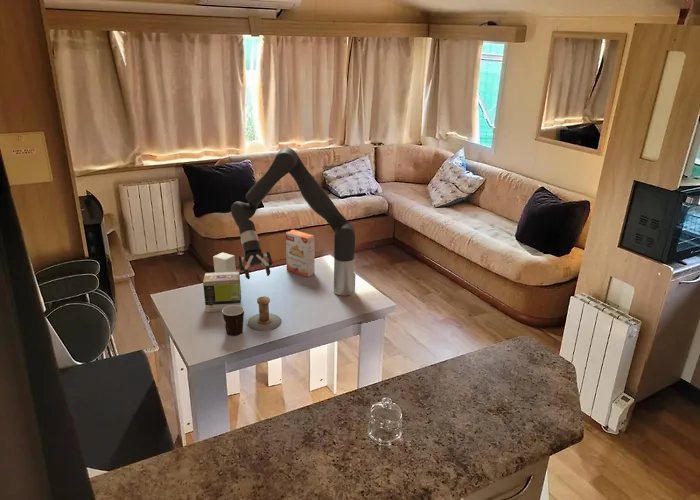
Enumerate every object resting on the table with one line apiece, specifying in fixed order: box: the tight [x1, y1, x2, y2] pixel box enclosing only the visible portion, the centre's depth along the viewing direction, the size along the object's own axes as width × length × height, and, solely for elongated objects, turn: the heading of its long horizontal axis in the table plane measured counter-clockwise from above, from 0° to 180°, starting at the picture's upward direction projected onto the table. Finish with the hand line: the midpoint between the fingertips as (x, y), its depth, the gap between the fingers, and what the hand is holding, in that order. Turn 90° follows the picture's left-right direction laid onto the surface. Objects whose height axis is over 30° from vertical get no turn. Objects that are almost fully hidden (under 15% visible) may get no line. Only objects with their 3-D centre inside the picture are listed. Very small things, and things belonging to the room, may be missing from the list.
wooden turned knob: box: [256, 296, 271, 324], centre depth 224 cm, size 6×6×10 cm
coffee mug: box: [221, 305, 245, 337], centre depth 215 cm, size 12×9×10 cm
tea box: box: [202, 270, 242, 313], centre depth 235 cm, size 15×10×15 cm, turn 99°
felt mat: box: [247, 312, 282, 332], centre depth 226 cm, size 14×14×1 cm
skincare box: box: [212, 251, 237, 272], centre depth 254 cm, size 8×7×16 cm
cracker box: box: [285, 229, 316, 278], centre depth 270 cm, size 14×6×21 cm, turn 55°
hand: (258, 276), depth 232 cm, fingers open, 8 cm apart
